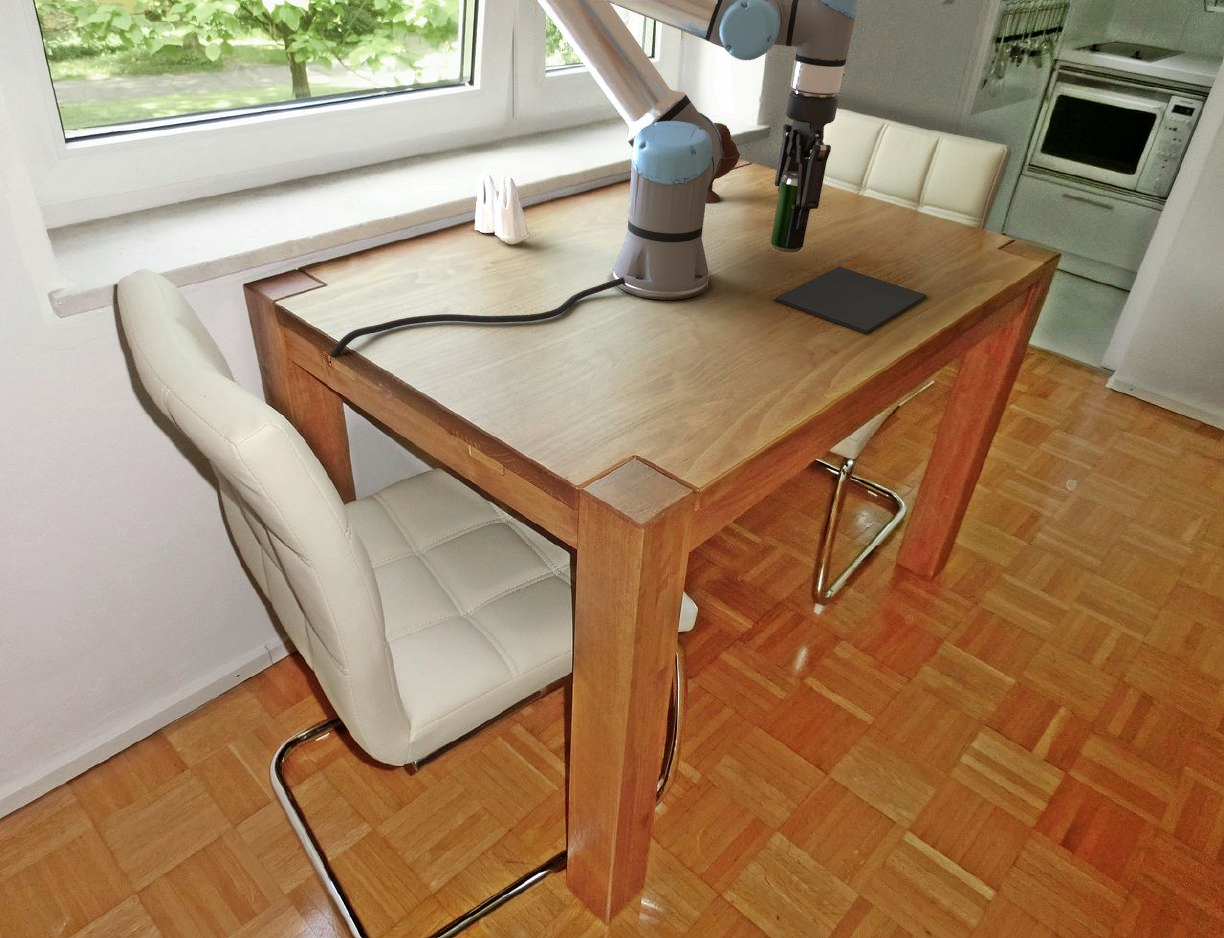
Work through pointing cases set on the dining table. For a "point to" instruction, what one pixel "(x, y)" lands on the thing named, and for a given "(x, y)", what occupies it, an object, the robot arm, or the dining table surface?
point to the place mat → (851, 299)
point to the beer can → (784, 212)
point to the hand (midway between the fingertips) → (787, 239)
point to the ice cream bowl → (723, 160)
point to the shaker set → (500, 211)
